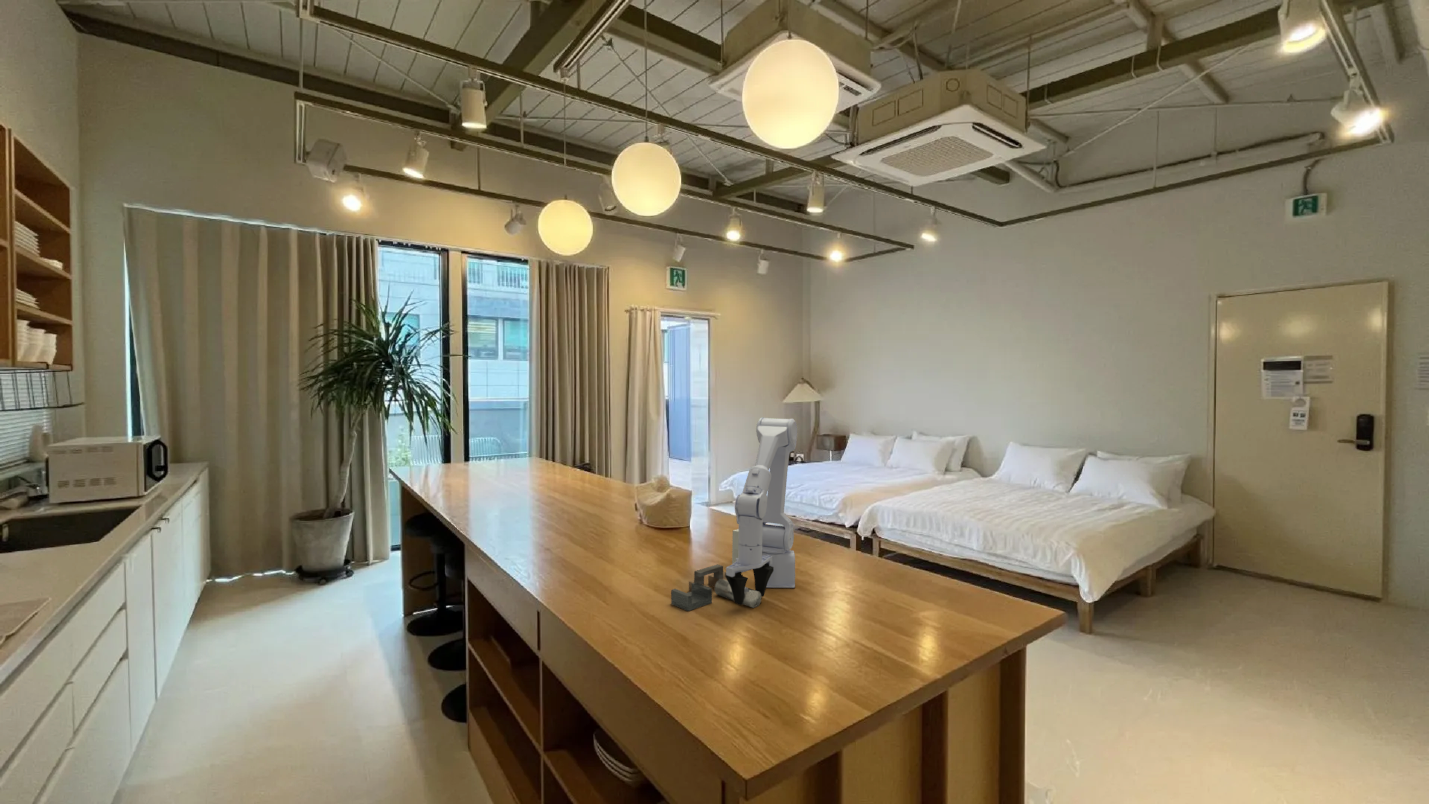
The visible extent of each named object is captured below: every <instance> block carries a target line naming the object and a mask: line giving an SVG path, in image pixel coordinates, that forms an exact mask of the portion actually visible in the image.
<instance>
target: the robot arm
mask: <svg viewBox="0 0 1429 804" xmlns="http://www.w3.org/2000/svg"><path fill="white" fill-rule="evenodd" d="M755 432H756V433H755V434H756V436H757V440H758V443H759V444H758V451H757V455H756V460H755V466H752V467H751V468H749V471H748V472H747V473H748V474H747V475H746V479H745V483H744V486H743V490H742V492H741V493H740V494H738V495H737V497H736V499H735V503H734V514H735V516H736V524H737V525H738V529H739V534H738V558H736V562H735V563H733V564H731V565H728V566H726V567H725V570H726V571H725V572H726V573H725V577H726V579H727V580H728V582H729V584H730V587H731V590H732V593H733V597H734V601H733V602H734V603H735V604H737V605H739V606H741V605H744V604H743V601H744V590H745V587H746V585H747V582H748V580H749V577H746V576H743V575H744V574H742V573H745V572H748V571H752V572H753V573H752V574H753V577H754V590H756V591H759V592H760V593H761V598H763V597H764V596H765V593H766V590H767V588H769V589H770V588H774V589H775V588H776V589H777V588H778V589H779V588H780V589H782V588H783V589H786V588H787V589H790V588H791V589H794V588H796V554H795V551H794V550H792V548H793V545H794V539H795V533H794V522H793V521H792V519H791V518H790V517H788V516H787V515H786V513H785V503H786V493H787V480H788V470H789V469H788V468H789V459H790V454H791V453H792V452H793V451H795V450H796V447H797V439H798V424H797V421H796V420H795V419H794V418H772V417H771V418H770V417H760V418H759V419H758V421H757V423H756V428H755ZM776 524H777V525H776ZM778 524H779V525H778Z"/></svg>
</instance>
